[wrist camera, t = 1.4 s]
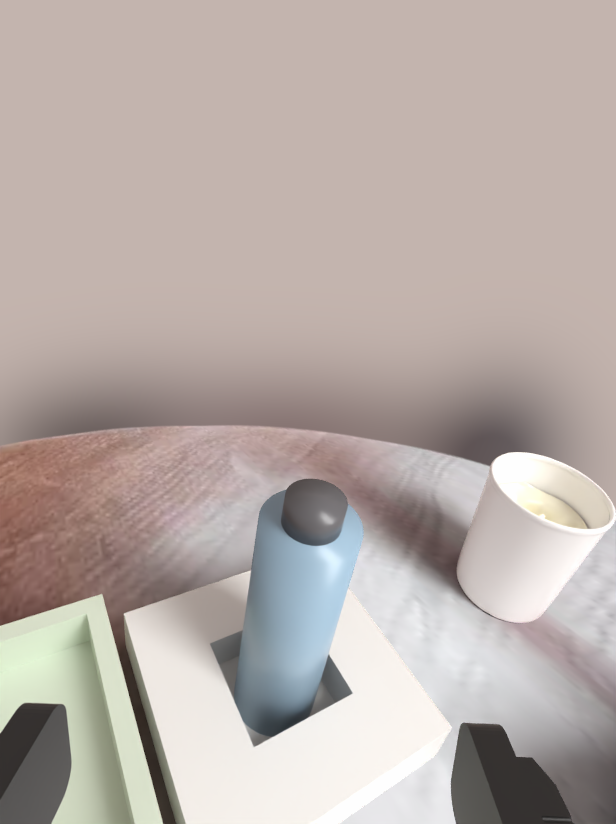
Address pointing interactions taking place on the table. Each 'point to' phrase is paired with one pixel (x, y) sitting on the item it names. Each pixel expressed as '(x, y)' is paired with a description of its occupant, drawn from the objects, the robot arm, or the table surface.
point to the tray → (82, 709)
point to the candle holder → (530, 535)
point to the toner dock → (289, 750)
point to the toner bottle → (294, 602)
